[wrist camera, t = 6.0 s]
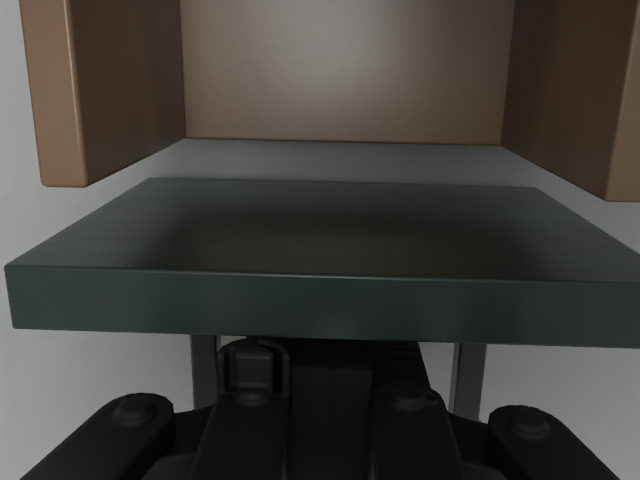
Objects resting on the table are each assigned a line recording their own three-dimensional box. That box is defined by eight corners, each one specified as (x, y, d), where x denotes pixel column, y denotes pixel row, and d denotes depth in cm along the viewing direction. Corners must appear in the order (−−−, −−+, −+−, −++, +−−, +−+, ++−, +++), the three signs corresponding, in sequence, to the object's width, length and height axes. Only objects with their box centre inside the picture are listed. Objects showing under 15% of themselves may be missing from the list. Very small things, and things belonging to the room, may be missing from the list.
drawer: (513, 374, 19) (626, 579, 11) (160, 362, 19) (44, 554, 12) (604, -341, 13) (935, -843, 6) (112, -341, 14) (-158, -818, 6)
